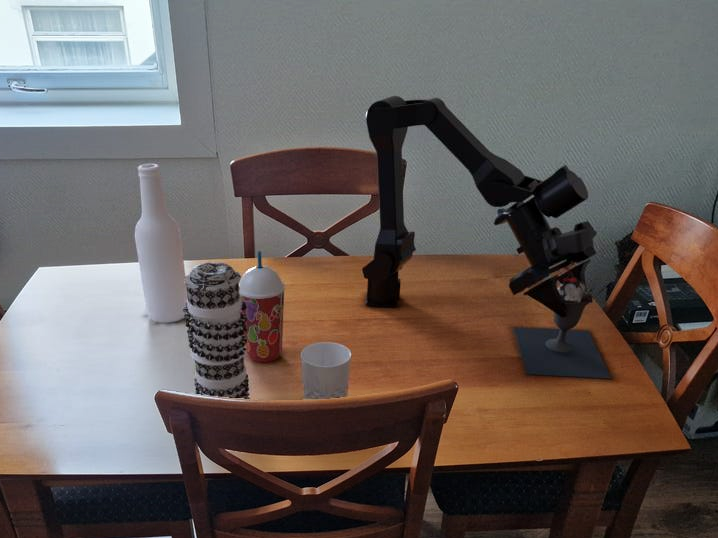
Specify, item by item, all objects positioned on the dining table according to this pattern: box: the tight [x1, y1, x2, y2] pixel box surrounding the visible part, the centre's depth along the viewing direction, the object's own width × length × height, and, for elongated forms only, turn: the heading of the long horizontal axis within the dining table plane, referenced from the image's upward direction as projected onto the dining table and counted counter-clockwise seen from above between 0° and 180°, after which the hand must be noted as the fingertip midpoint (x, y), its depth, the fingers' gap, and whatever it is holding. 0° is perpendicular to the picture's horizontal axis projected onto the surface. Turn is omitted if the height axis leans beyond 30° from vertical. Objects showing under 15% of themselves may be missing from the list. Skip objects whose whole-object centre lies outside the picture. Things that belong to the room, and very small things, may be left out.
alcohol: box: [134, 163, 188, 324], centre depth 128 cm, size 9×9×30 cm
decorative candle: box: [183, 261, 251, 400], centre depth 99 cm, size 9×9×25 cm
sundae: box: [545, 267, 594, 352], centre depth 115 cm, size 7×7×15 cm
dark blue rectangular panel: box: [512, 326, 613, 380], centre depth 120 cm, size 14×18×1 cm
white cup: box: [300, 341, 353, 400], centre depth 104 cm, size 8×8×10 cm
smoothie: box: [239, 250, 286, 363], centre depth 116 cm, size 8×8×20 cm
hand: (575, 310), depth 115 cm, fingers closed on sundae, 6 cm apart
